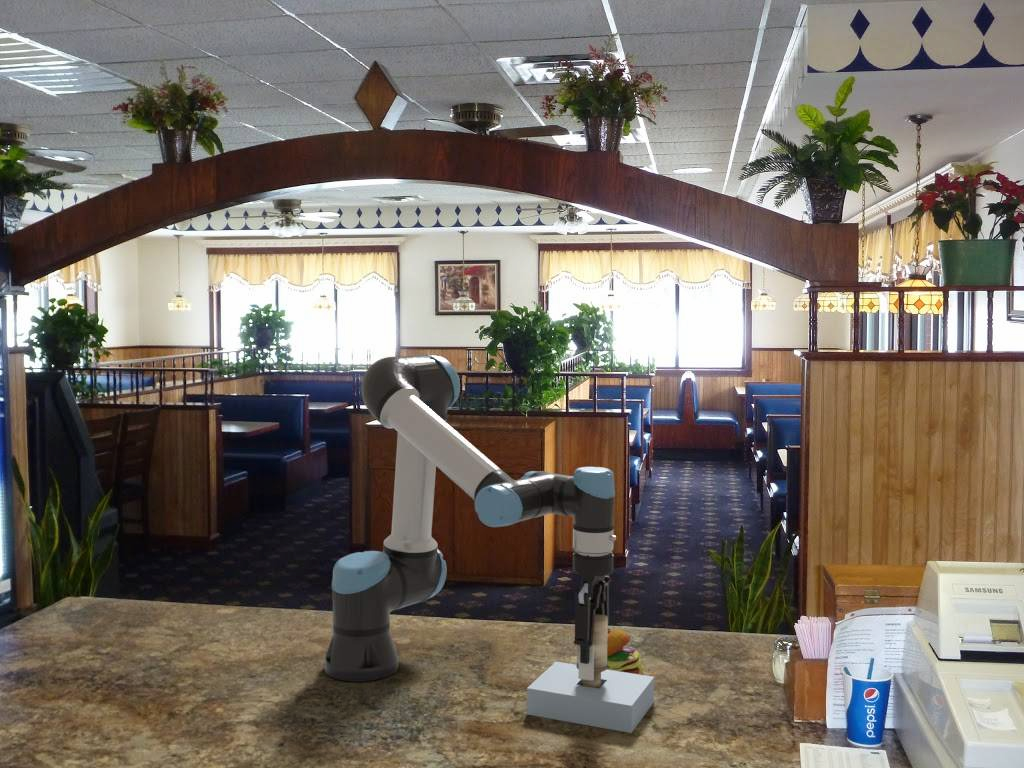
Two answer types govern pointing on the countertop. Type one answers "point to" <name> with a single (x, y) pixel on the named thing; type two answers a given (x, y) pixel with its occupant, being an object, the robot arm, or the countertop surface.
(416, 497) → the robot arm
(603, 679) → the board
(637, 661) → the cheeseburger
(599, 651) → the peg
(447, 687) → the countertop surface
